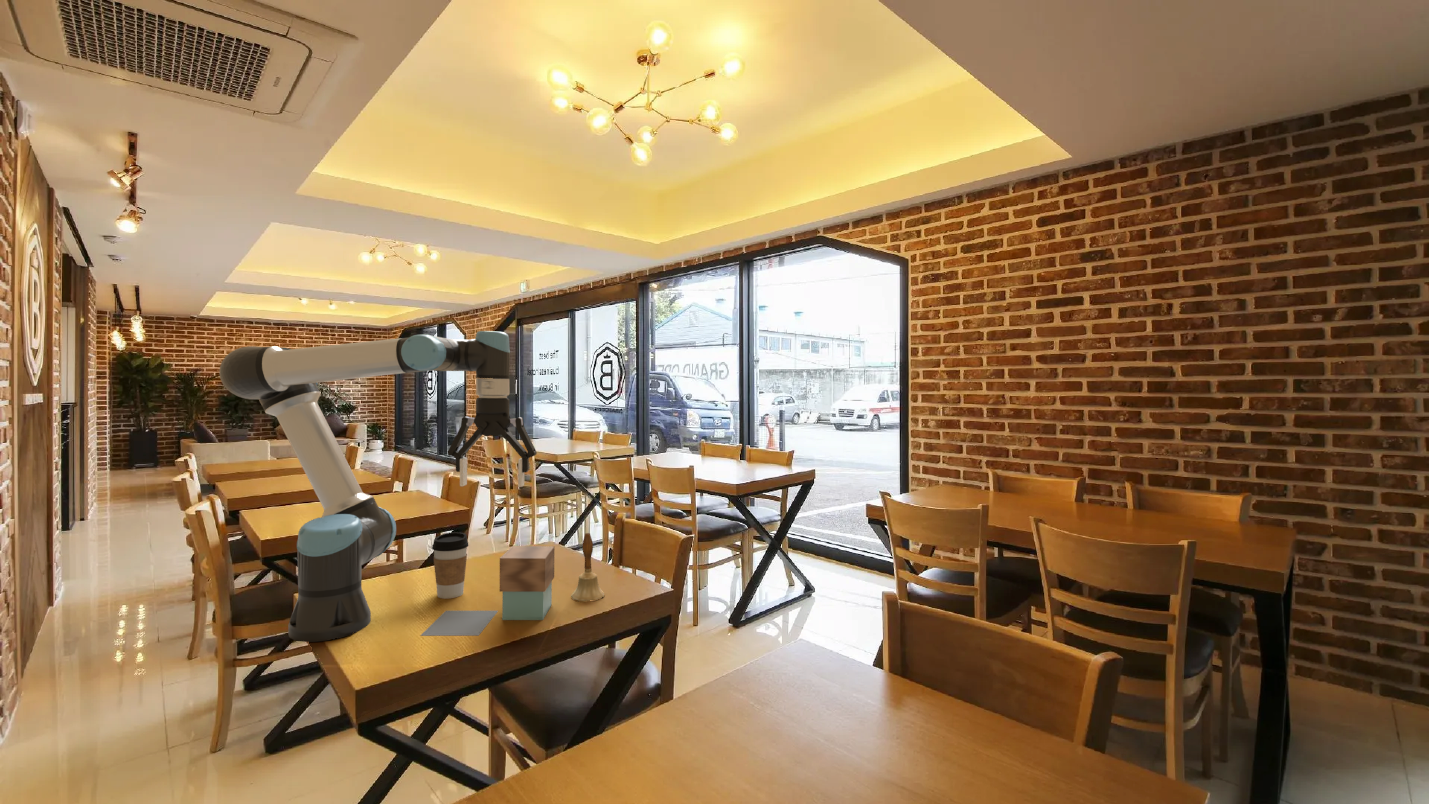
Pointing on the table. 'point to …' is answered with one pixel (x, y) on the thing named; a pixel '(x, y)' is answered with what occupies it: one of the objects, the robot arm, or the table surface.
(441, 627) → the mat
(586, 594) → the hand bell
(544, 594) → the mint square pot
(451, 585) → the coffee cup
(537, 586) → the brown wooden block
